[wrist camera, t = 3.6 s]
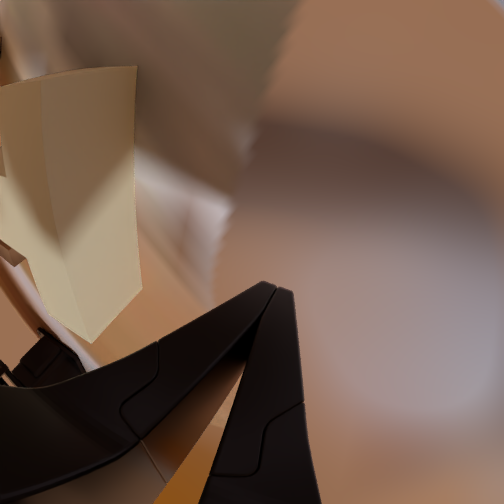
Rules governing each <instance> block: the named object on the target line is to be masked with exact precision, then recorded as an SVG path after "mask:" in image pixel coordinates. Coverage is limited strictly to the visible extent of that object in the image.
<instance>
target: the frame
mask: <svg viewBox="0 0 504 504" xmlns="http://www.w3.org/2000/svg"><path fill="white" fill-rule="evenodd" d="M0 49H1V37H0ZM0 256H1V257H3V258H4V259H5V260H6V261H7V262H9V263H10V264H11V265H12V266H13V267H15V266H17V265H18V264H19V263H20V262H22V261H23V260H24V259H26V257H24V256H23V255H21V254H20V253H18V252H17V251H16V250H14V249H13V248H11V247H10V246H9V245H7V244H6V243H4V242H3V241H2V240H0Z"/></svg>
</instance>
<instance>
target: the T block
mask: <svg viewBox="0 0 504 504" xmlns="http://www.w3.org/2000/svg"><path fill="white" fill-rule="evenodd" d="M137 67H138V66H113V67H95V68H83V69H77V70H71V71H65V72H59V73H54V74H49V75H44V76H40V77H35V78H31V79H27V80H23V81H19V82H15V83H12V84H8V85H5V86H1V87H0V136H1V144H2V146H0V240H2V241H3V242H4V243H6V244H7V245H9V246H10V247H11V248H13V249H14V250H16V251H17V252H18V253H20V254H21V255H23V256H24V257H26V258H27V260H28V263H29V266H30V269H31V272H32V275H33V277H34V280H35V283H36V285H37V288H38V291H39V293H40V296H41V298H42V301H43V303H44V306H45V308H46V310H47V313H48V314H49V315H50V316H52V317H53V318H54V319H56V320H57V321H58V322H60V323H61V324H63V325H64V326H66V327H67V328H68V329H70V330H71V331H73V332H74V333H76V334H77V335H79V336H80V337H82V338H83V339H85V340H86V341H88V342H89V343H91V344H92V343H93V342H94V340H95V339H96V338H97V337H98V336H99V335H100V334H101V333H102V332H103V330H104V329H105V328H106V327H107V326H108V325H109V324H110V323H111V322H112V321H113V320H114V318H115V317H116V316H117V315H118V314H119V313H120V312H121V311H122V310H123V309H124V308H125V307H126V306H127V305H128V303H129V302H130V301H131V300H132V299H133V298H134V297H135V296H136V295H137V294H138V293H139V292H140V291H141V290H142V289H143V288H142V280H141V271H140V261H139V251H138V239H137V225H136V208H135V183H134V120H135V96H136V80H137Z"/></svg>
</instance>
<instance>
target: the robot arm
mask: <svg viewBox="0 0 504 504" xmlns="http://www.w3.org/2000/svg"><path fill="white" fill-rule="evenodd" d="M37 332H38V334H39V336H40V338H41V339H40V340H39V341H38V342H37V343H36V344H35V345H34V346H33V347H32V348H31V349H30V350H29V351H28V352H27V353H26V354H25V355H24V356H23V357H22V358H21V359H20V363H19V364H18V365H17V366H16V367H15V368H14V369H13V371H12V373H13V374H12V373H11V371H10V370H9V369H8V367H7V365H6V364H4V363H3V362H2V361H1V360H0V504H153V502H154V501H155V500H156V498H157V497H158V496H159V494H160V493H161V492H162V490H163V489H164V487H165V486H166V485H167V484H166V483H168V482H169V481H170V479H171V478H172V476H173V475H174V474H175V472H176V471H177V469H178V468H179V467H180V465H181V464H182V462H183V461H184V459H185V458H186V457H187V455H188V454H189V452H190V451H191V450H192V448H193V447H194V445H195V444H196V442H197V441H198V439H199V438H200V436H201V435H202V433H203V432H204V431H205V429H206V428H207V426H208V425H209V423H210V422H211V420H212V419H213V417H214V416H215V414H216V413H217V411H218V410H219V408H220V406H221V405H222V403H223V402H224V400H225V399H226V397H227V396H228V394H229V393H230V391H231V389H232V388H233V386H234V385H235V383H236V382H237V380H238V378H239V377H240V375H241V374H242V372H243V374H242V377H241V381H240V384H239V387H238V390H237V393H236V396H235V399H234V402H233V405H232V408H231V411H230V414H229V417H228V420H227V423H226V426H225V429H224V432H223V435H222V438H221V441H220V444H219V447H218V450H217V453H216V456H215V458H214V461H213V464H212V467H211V470H210V473H209V477H208V478H207V481H206V484H205V487H204V490H203V492H202V495H201V497H200V500H199V503H198V504H322V503H321V499H320V494H319V489H318V484H317V480H316V476H315V471H314V466H313V461H312V457H311V451H310V445H309V440H308V431H307V423H306V412H305V404H304V403H303V402H304V390H303V379H302V369H301V358H300V349H299V340H298V329H297V320H296V312H295V302H294V294H293V292H292V291H290V290H288V289H285V288H282V287H278V288H277V286H276V285H274V284H271V283H268V282H266V281H261V282H259V283H257V284H256V285H254V286H252V287H250V288H249V289H247V290H245V291H244V292H242V293H240V294H238V295H237V296H235V297H233V298H232V299H230V300H228V301H226V302H225V303H223V304H221V305H219V306H218V307H216V308H214V309H212V310H211V311H209V312H207V313H205V314H204V315H202V316H200V317H198V318H197V319H195V320H193V321H191V322H189V323H188V324H186V325H184V326H182V327H181V328H179V329H177V330H175V331H173V332H172V333H170V334H168V335H166V336H164V337H163V338H161V339H159V340H158V342H157V341H155V342H153V343H151V344H149V345H148V346H146V347H144V348H142V349H140V350H138V351H136V352H134V353H132V354H130V355H128V356H126V357H124V358H122V359H119V360H117V361H115V362H112V363H110V364H108V365H105V366H103V367H100V368H98V369H95V370H92V371H90V372H87V373H85V371H84V369H83V367H82V365H81V363H80V361H79V359H78V358H77V357H76V356H75V355H74V354H73V353H72V352H70V351H69V350H68V349H66V348H65V347H64V346H62V345H61V344H60V343H58V342H57V341H56V340H55V339H53V338H52V337H51V336H50V335H48V334H47V333H46V332H45V331H44V330H42V329H41V328H40V327H39V328H38V329H37ZM3 375H5V376H6V377H7V378H8V379H9V380H10V382H11V383H12V384H13V385H14V386H15V387H12V386H9V385H8V384H7V383H6V382H5V381H4V379H3V378H2V376H3Z"/></svg>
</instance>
